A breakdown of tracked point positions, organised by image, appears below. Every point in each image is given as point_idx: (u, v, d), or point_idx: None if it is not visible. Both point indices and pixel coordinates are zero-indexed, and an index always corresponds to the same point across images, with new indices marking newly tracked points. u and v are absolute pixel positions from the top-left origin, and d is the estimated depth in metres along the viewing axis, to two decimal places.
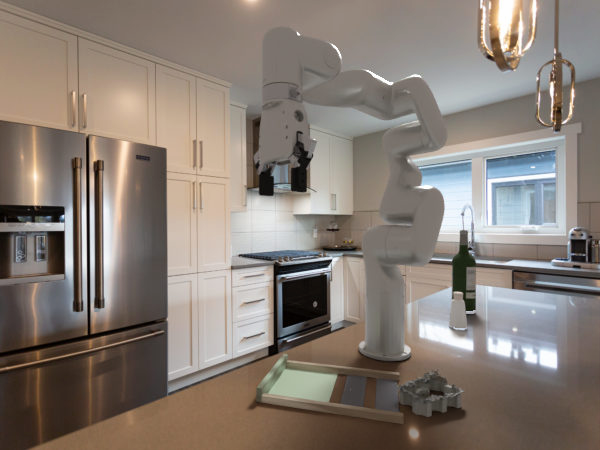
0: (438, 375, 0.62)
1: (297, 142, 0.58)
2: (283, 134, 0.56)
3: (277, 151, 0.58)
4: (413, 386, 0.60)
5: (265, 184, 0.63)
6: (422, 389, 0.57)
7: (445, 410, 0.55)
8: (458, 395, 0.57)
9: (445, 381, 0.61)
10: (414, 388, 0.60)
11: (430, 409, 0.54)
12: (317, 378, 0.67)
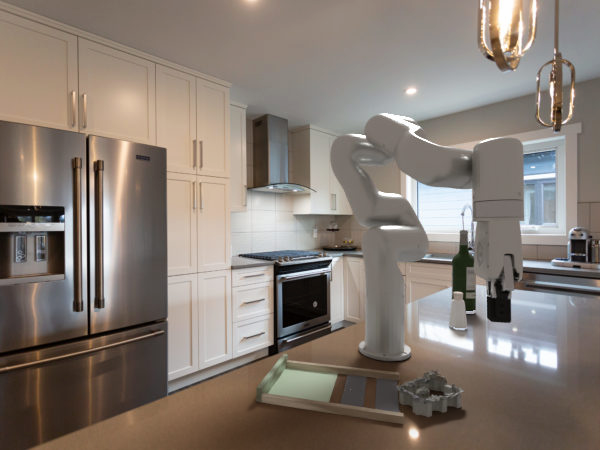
0: (438, 375, 0.62)
1: None
2: None
3: None
4: (413, 386, 0.60)
5: None
6: (422, 389, 0.57)
7: (445, 410, 0.55)
8: (458, 395, 0.57)
9: (445, 381, 0.61)
10: (414, 388, 0.60)
11: (430, 409, 0.54)
12: (317, 378, 0.67)
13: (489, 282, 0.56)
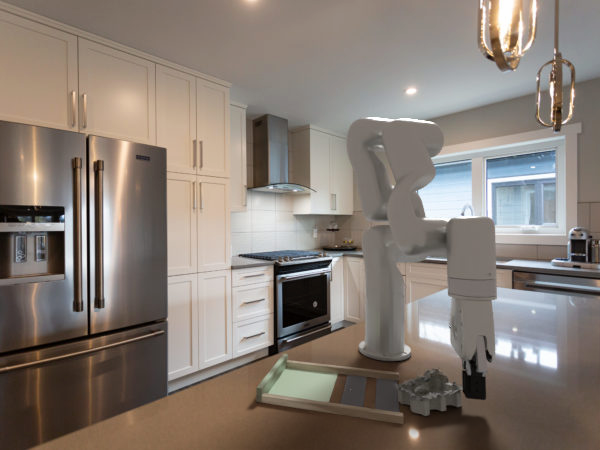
0: (439, 373, 0.62)
1: None
2: None
3: None
4: (413, 385, 0.59)
5: None
6: (420, 387, 0.57)
7: (444, 408, 0.55)
8: (458, 392, 0.56)
9: (446, 379, 0.61)
10: (414, 386, 0.60)
11: (428, 407, 0.54)
12: (317, 378, 0.67)
13: None
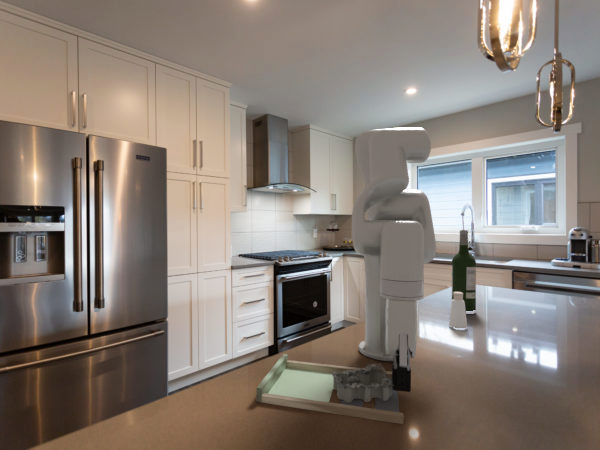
0: (381, 368, 0.64)
1: None
2: None
3: None
4: (350, 375, 0.63)
5: None
6: (352, 377, 0.61)
7: (368, 399, 0.58)
8: (385, 387, 0.59)
9: (385, 375, 0.63)
10: (351, 377, 0.64)
11: (350, 395, 0.58)
12: (317, 378, 0.67)
13: None
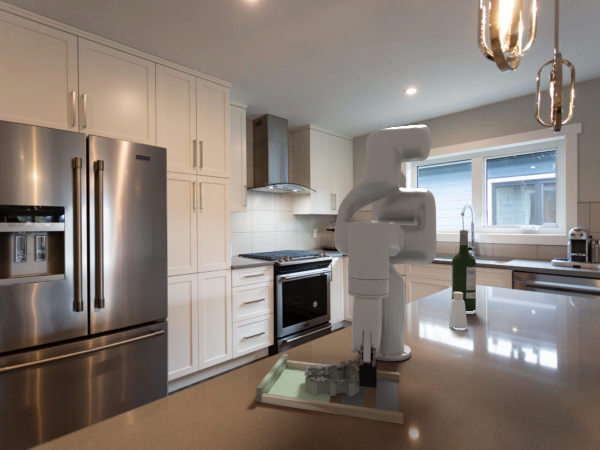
0: (353, 365, 0.66)
1: None
2: None
3: None
4: (323, 370, 0.66)
5: None
6: (321, 372, 0.63)
7: (333, 393, 0.60)
8: (350, 383, 0.60)
9: (357, 372, 0.64)
10: None
11: (315, 388, 0.60)
12: None
13: None
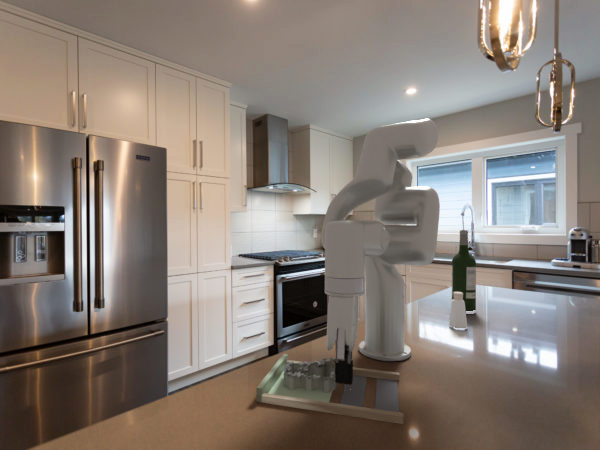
0: (334, 363, 0.67)
1: None
2: None
3: (356, 335, 0.63)
4: (304, 366, 0.68)
5: None
6: (301, 367, 0.65)
7: (309, 388, 0.62)
8: (325, 380, 0.61)
9: None
10: None
11: (291, 382, 0.62)
12: None
13: None
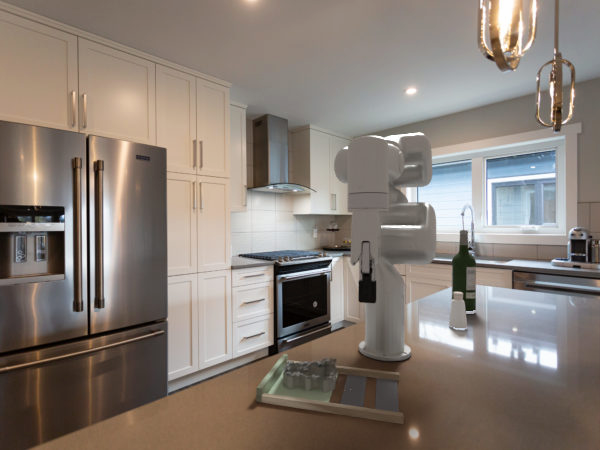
0: (334, 363, 0.67)
1: None
2: None
3: None
4: (304, 365, 0.68)
5: None
6: (300, 367, 0.65)
7: (308, 388, 0.62)
8: (324, 380, 0.61)
9: (336, 369, 0.65)
10: None
11: (291, 382, 0.62)
12: None
13: None
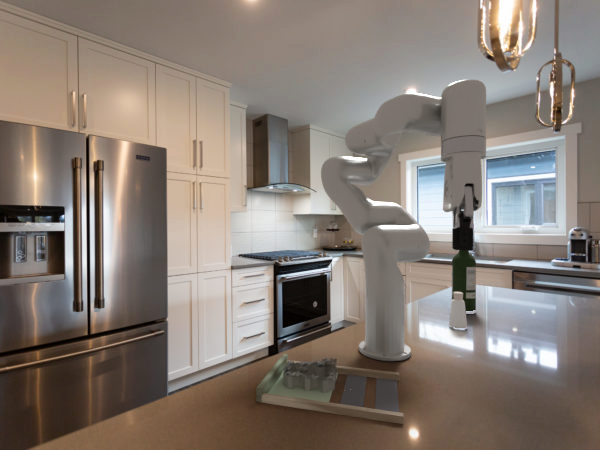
0: (334, 363, 0.67)
1: None
2: None
3: None
4: (304, 365, 0.68)
5: None
6: (300, 367, 0.65)
7: (307, 388, 0.62)
8: (324, 380, 0.61)
9: (336, 370, 0.65)
10: None
11: (290, 382, 0.63)
12: None
13: (455, 215, 0.62)
